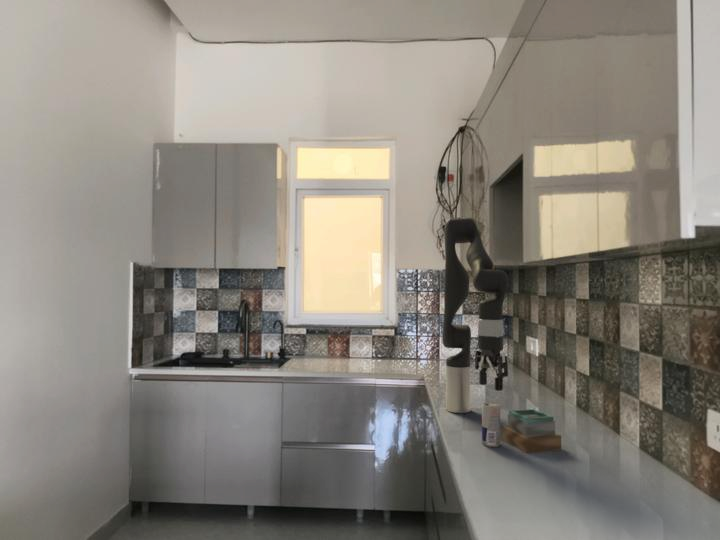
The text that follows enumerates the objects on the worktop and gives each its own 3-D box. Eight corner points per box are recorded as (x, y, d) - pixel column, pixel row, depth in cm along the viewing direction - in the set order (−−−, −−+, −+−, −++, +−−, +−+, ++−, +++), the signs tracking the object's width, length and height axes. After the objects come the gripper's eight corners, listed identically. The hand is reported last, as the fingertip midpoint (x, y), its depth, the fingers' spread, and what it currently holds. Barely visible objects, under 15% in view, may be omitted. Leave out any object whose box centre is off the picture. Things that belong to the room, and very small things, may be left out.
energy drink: (486, 440, 140) (486, 401, 140) (503, 444, 136) (502, 404, 137) (479, 444, 135) (479, 404, 136) (496, 448, 132) (495, 407, 132)
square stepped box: (502, 439, 140) (502, 409, 141) (534, 436, 144) (534, 407, 144) (526, 452, 129) (526, 420, 129) (561, 449, 132) (561, 417, 133)
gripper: (467, 332, 143) (467, 383, 142) (492, 336, 129) (493, 393, 129) (488, 332, 145) (488, 382, 144) (515, 336, 131) (515, 391, 131)
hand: (490, 387), depth 136 cm, fingers open, 8 cm apart
